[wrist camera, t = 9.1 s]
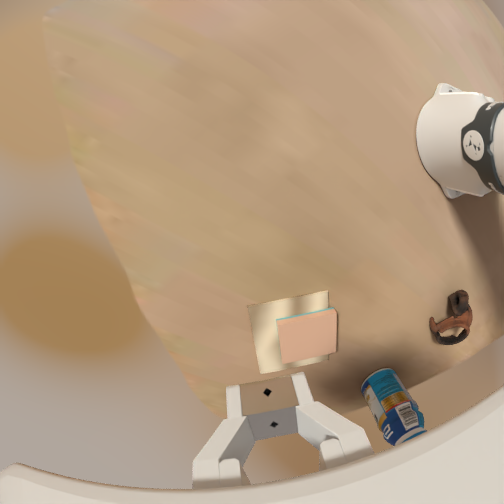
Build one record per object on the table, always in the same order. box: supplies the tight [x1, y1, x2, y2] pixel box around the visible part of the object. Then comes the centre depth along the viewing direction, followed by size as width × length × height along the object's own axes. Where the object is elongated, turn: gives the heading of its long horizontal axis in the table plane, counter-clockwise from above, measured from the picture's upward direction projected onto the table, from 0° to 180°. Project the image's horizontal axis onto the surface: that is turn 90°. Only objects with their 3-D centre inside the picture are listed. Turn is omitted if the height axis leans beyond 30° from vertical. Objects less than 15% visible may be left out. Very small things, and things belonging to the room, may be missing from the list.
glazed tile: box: [276, 307, 337, 364], centre depth 44 cm, size 2×8×9 cm
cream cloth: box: [248, 290, 329, 374], centre depth 44 cm, size 12×14×1 cm
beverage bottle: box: [361, 368, 427, 446], centre depth 43 cm, size 8×8×20 cm
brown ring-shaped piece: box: [430, 290, 472, 345], centre depth 45 cm, size 12×10×8 cm
